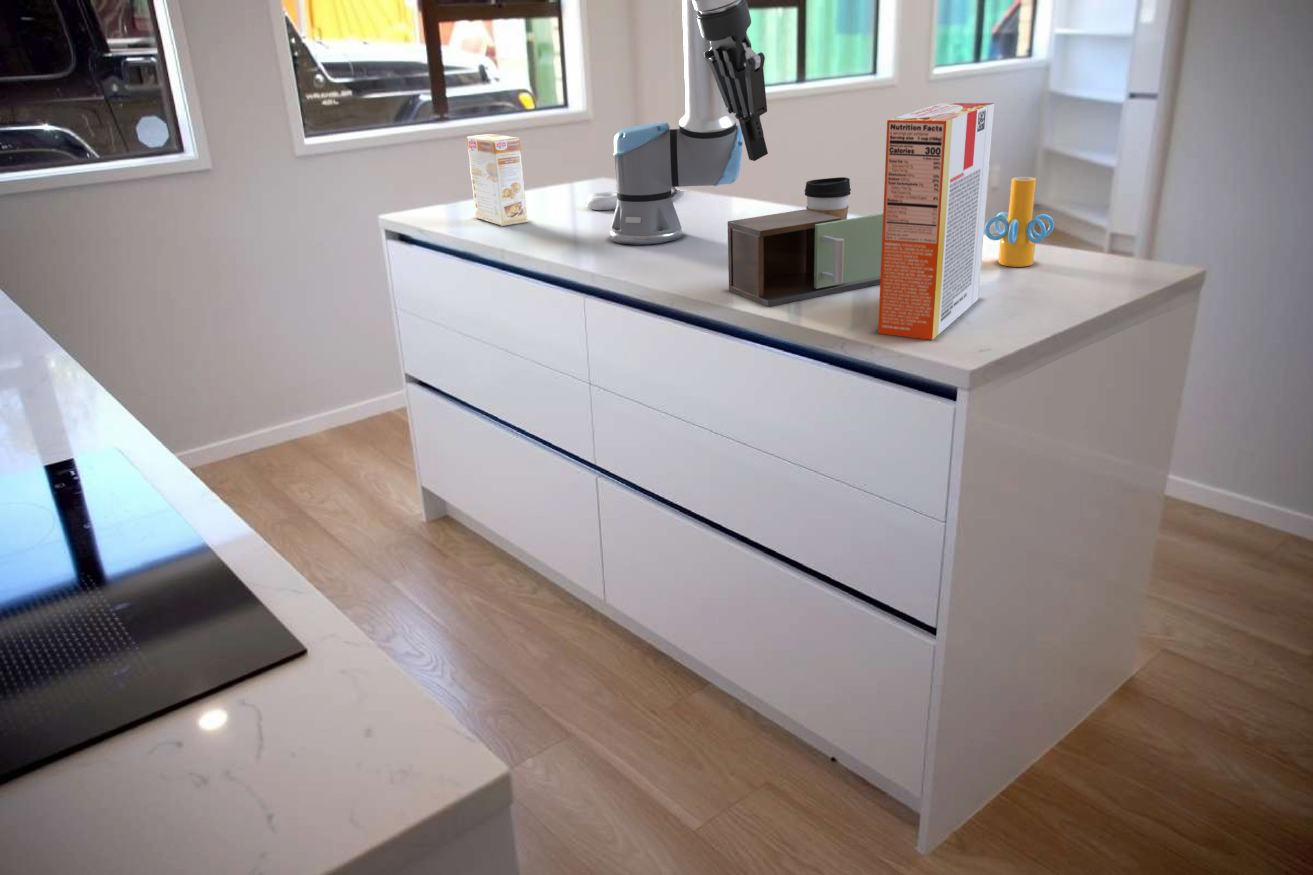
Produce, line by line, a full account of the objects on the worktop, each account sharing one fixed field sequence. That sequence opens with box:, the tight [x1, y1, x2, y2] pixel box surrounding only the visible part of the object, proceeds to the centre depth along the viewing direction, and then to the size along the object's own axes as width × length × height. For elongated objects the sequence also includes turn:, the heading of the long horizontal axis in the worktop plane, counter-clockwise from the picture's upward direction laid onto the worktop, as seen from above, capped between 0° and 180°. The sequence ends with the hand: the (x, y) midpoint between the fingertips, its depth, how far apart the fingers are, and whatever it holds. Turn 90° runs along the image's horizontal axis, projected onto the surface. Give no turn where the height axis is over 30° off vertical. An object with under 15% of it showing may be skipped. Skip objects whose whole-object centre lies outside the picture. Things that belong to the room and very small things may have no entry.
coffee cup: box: [804, 176, 852, 220], centre depth 186 cm, size 8×8×15 cm
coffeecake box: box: [466, 133, 529, 227], centre depth 237 cm, size 15×7×20 cm, turn 34°
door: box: [814, 213, 883, 289], centre depth 165 cm, size 6×16×11 cm, turn 118°
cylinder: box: [984, 176, 1055, 268], centre depth 177 cm, size 12×10×15 cm
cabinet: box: [727, 208, 881, 308], centre depth 170 cm, size 12×27×12 cm, turn 118°
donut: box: [586, 191, 617, 211], centre depth 249 cm, size 10×4×10 cm
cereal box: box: [877, 102, 995, 341], centre depth 147 cm, size 23×8×30 cm, turn 148°
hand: (758, 156), depth 157 cm, fingers closed
